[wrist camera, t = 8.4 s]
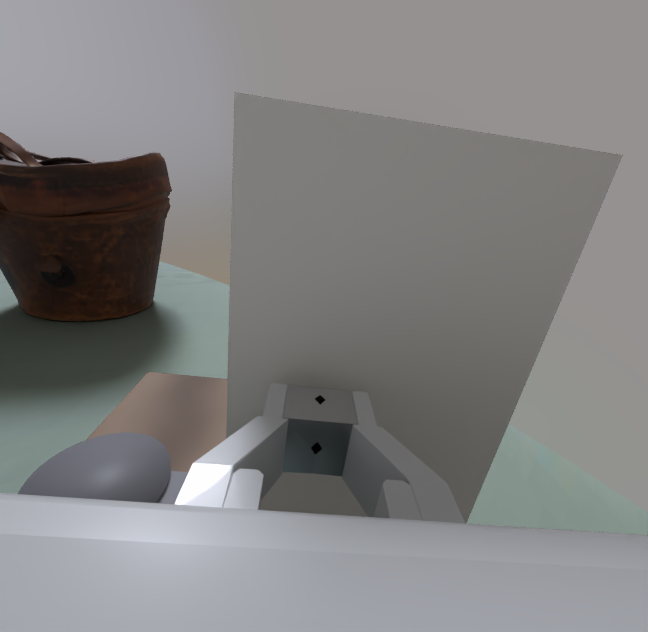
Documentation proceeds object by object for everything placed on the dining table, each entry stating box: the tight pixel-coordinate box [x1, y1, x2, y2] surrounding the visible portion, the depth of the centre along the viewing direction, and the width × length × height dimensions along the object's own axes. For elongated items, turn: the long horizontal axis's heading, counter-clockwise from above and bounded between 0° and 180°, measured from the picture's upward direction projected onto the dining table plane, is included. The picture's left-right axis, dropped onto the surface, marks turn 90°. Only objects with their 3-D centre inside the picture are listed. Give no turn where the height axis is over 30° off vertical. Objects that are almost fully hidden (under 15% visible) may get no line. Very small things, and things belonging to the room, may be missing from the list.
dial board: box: [86, 372, 228, 472], centre depth 17 cm, size 20×18×2 cm
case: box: [0, 132, 172, 321], centre depth 35 cm, size 18×20×18 cm
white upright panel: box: [18, 92, 623, 524], centre depth 11 cm, size 18×5×16 cm, turn 92°
